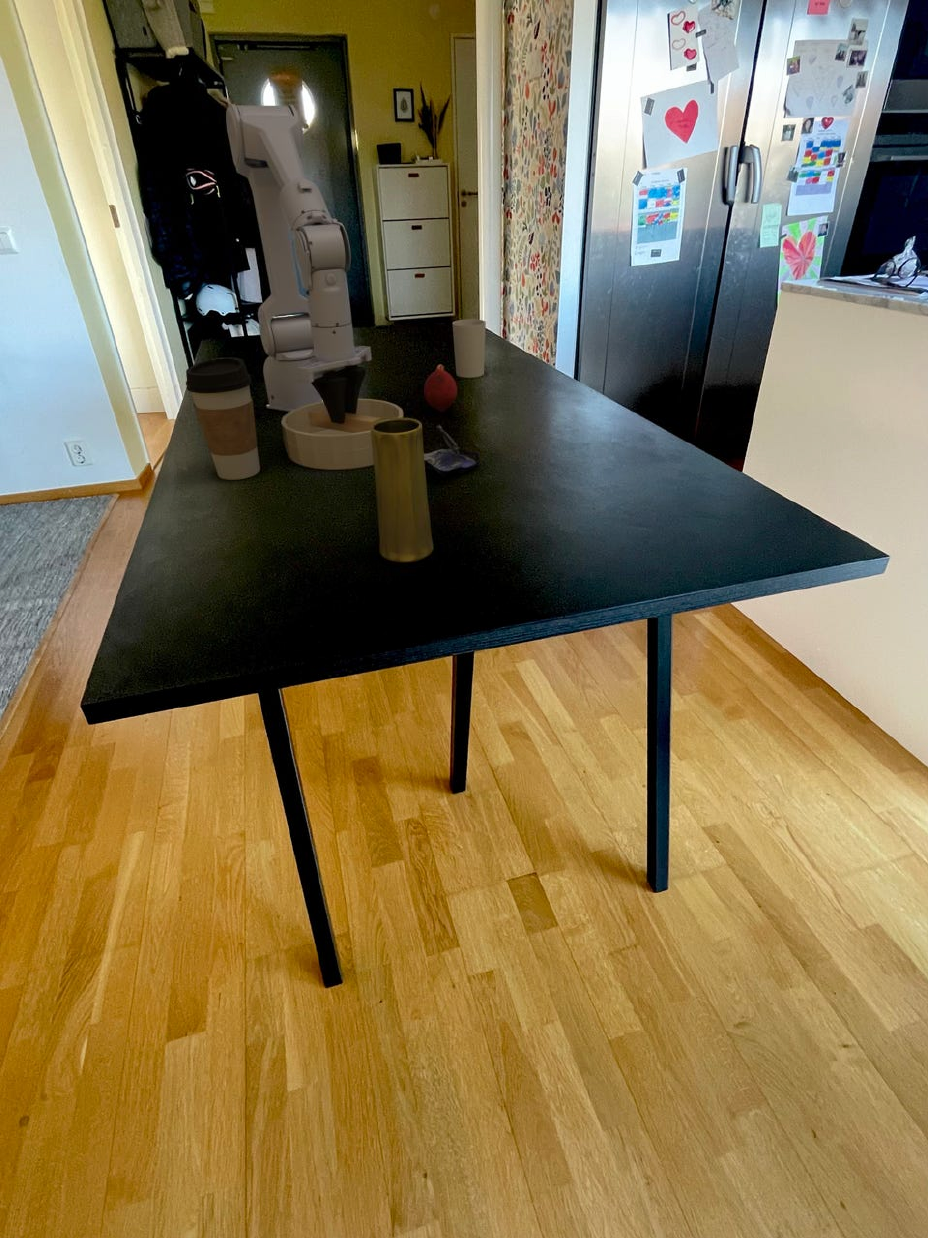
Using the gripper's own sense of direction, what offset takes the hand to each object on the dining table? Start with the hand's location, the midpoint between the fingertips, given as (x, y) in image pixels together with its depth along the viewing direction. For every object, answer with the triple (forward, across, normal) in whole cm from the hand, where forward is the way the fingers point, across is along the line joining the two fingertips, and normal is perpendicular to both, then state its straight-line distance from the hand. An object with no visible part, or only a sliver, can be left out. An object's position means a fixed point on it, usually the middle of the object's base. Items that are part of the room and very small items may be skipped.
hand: (343, 419), depth 101 cm
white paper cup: (+4, +47, +4) cm, 47 cm away
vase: (+5, -24, -27) cm, 36 cm away
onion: (+5, +22, -4) cm, 23 cm away
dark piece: (+5, -1, -17) cm, 18 cm away
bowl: (+4, 0, 0) cm, 4 cm away
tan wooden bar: (+1, 0, 0) cm, 1 cm away
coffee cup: (+5, -15, +8) cm, 18 cm away
